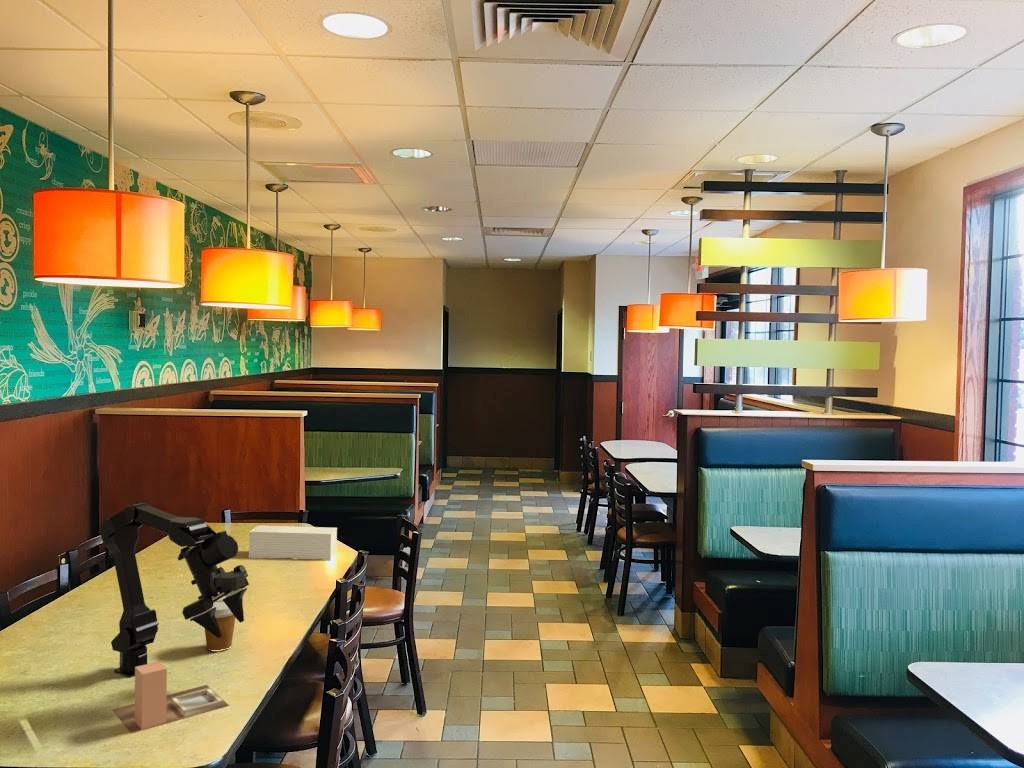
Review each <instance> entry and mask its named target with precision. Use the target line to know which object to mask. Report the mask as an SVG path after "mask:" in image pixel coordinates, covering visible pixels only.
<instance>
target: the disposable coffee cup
mask: <svg viewBox="0 0 1024 768" xmlns="http://www.w3.org/2000/svg"><path fill="white" fill-rule="evenodd" d="M215 607H216V611H215V617H216V620H217V623H218V625H219V628H220V631H221V634H222V636H221V637H219V638H217V637H216V636H214V635H213V634H212V633H210V632H209V631H208V630H206V629H205V628H204V635H205V643H206V650H207V649H210V650H221V649H226V648H229V647H230V646H231V647H232V645H233V636H234V630H235V625H236V624H235V622H236V617H235V616H234V615H233V613H232V612H231V611H230V609H229V608H228V607H227V605H226V604H225V603H224V601H223V600H222V599H219V600H217V601H215V602H214V603H213V607H212V608H215Z"/></svg>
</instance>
